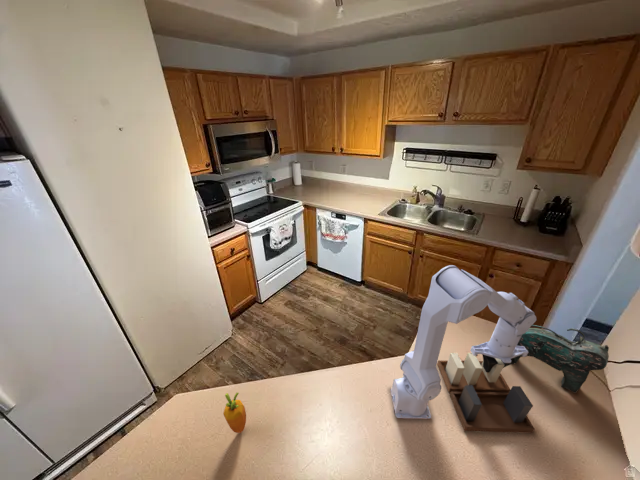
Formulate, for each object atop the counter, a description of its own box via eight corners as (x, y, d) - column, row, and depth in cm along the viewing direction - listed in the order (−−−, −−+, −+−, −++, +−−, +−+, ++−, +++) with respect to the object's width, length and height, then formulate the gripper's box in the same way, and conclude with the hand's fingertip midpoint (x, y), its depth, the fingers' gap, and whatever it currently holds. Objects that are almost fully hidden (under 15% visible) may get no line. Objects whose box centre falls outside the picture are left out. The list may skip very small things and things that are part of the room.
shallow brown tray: (448, 392, 76) (449, 388, 75) (437, 364, 84) (438, 360, 83) (508, 393, 75) (510, 389, 74) (491, 365, 83) (493, 361, 82)
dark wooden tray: (463, 431, 67) (465, 427, 66) (449, 395, 75) (451, 391, 74) (532, 432, 66) (534, 429, 65) (510, 396, 74) (512, 392, 73)
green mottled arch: (582, 385, 77) (619, 339, 67) (583, 403, 72) (621, 356, 63) (504, 348, 88) (526, 305, 78) (500, 361, 84) (522, 317, 74)
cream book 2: (468, 385, 77) (475, 368, 73) (460, 369, 81) (467, 352, 78) (475, 385, 77) (482, 368, 73) (467, 369, 81) (474, 353, 78)
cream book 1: (451, 384, 77) (457, 367, 73) (444, 369, 82) (450, 352, 78) (458, 384, 77) (464, 368, 73) (451, 369, 82) (457, 352, 78)
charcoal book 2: (514, 422, 68) (525, 405, 64) (502, 403, 72) (512, 386, 69) (521, 422, 68) (533, 405, 64) (510, 403, 72) (520, 386, 68)
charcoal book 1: (466, 421, 69) (474, 404, 65) (457, 402, 73) (465, 385, 69) (473, 421, 68) (482, 404, 65) (465, 402, 73) (472, 385, 69)
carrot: (230, 425, 69) (218, 392, 62) (249, 417, 71) (239, 385, 64) (231, 445, 65) (219, 413, 58) (251, 437, 67) (241, 404, 60)
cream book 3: (488, 382, 76) (497, 365, 72) (480, 366, 80) (487, 349, 77) (495, 382, 76) (504, 365, 72) (486, 366, 80) (494, 349, 76)
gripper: (485, 350, 67) (471, 381, 74) (542, 351, 67) (523, 382, 73) (472, 329, 73) (460, 359, 80) (524, 329, 73) (508, 360, 79)
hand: (490, 369), depth 77 cm, fingers closed on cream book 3, 2 cm apart
